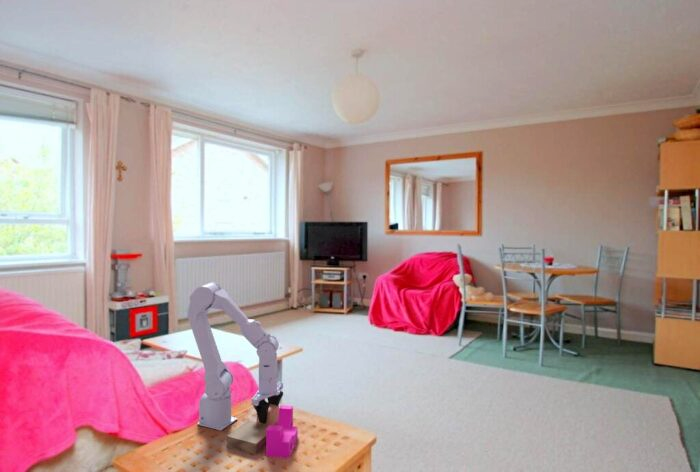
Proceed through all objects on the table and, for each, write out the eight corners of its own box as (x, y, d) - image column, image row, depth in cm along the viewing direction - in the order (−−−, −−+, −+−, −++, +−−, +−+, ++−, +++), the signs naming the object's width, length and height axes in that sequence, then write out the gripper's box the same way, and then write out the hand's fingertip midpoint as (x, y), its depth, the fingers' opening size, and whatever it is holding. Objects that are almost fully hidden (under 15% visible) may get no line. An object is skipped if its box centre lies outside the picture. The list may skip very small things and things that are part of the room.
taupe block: (226, 446, 117) (226, 436, 117) (248, 430, 127) (248, 420, 126) (256, 454, 113) (256, 443, 113) (276, 437, 123) (276, 427, 123)
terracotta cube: (256, 425, 130) (256, 409, 129) (265, 418, 134) (265, 403, 134) (270, 428, 128) (270, 412, 127) (279, 421, 132) (279, 405, 132)
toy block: (288, 458, 112) (288, 431, 112) (266, 457, 113) (266, 430, 112) (300, 430, 127) (301, 406, 127) (280, 429, 128) (280, 405, 127)
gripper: (265, 386, 122) (265, 432, 123) (291, 370, 135) (290, 411, 136) (245, 383, 125) (245, 427, 125) (272, 367, 138) (272, 407, 139)
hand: (267, 418), depth 131 cm, fingers closed on terracotta cube, 5 cm apart
